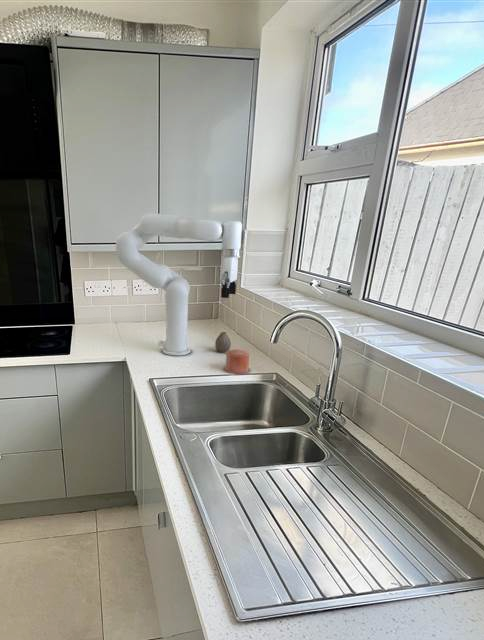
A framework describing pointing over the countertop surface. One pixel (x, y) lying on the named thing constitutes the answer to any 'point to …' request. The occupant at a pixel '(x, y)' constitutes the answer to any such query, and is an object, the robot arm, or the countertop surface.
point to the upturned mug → (237, 361)
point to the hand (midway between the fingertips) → (228, 295)
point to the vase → (223, 342)
